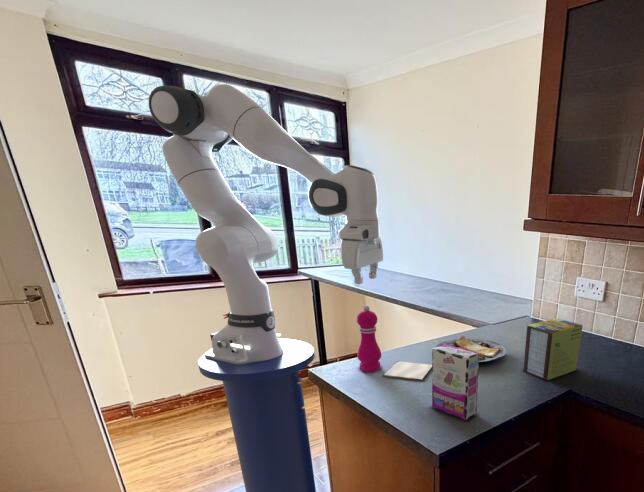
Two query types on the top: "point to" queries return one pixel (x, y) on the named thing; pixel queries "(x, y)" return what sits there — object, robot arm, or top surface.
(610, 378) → the top surface
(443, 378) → the candy bar box
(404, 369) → the coaster mat
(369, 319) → the pepper mill
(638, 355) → the top surface
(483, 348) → the food plate
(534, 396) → the top surface
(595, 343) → the top surface
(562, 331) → the protein box
